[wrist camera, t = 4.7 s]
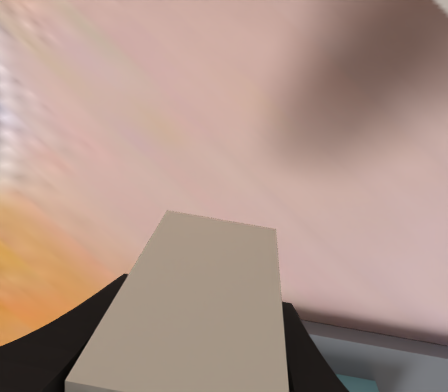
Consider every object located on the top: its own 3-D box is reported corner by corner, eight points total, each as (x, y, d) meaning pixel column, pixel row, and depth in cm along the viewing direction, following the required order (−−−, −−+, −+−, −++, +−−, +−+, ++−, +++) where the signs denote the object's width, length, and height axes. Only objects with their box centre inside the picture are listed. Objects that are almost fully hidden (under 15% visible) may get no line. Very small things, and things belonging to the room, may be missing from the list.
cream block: (275, 228, 14) (291, 423, 7) (256, 319, 16) (252, 564, 8) (167, 210, 14) (64, 380, 7) (157, 301, 16) (63, 526, 8)
